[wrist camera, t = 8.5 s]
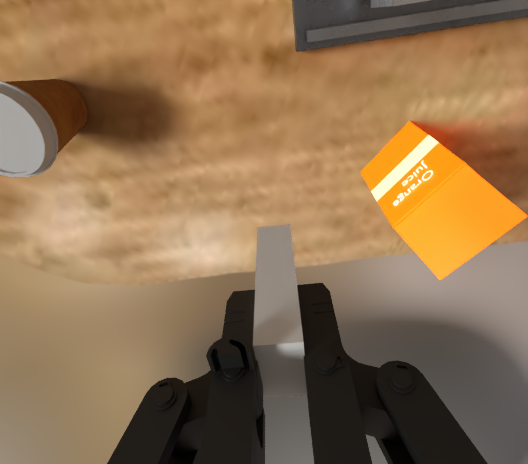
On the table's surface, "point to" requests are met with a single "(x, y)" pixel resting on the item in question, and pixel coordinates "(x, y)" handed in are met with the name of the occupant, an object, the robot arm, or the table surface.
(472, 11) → the plate
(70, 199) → the table surface
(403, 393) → the robot arm
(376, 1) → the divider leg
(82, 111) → the disposable coffee cup
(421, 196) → the orange juice
